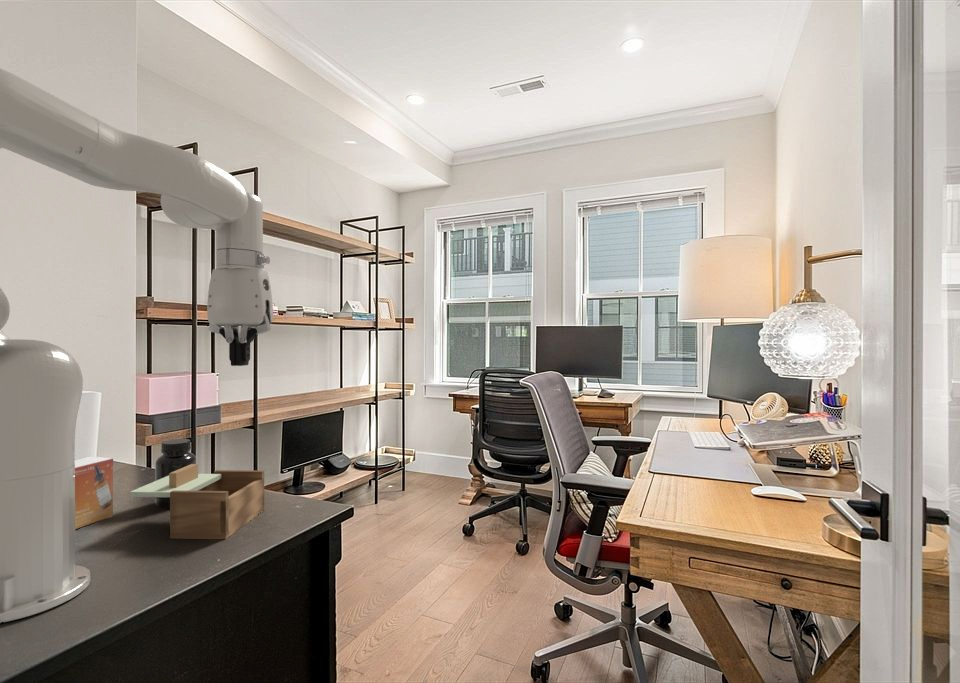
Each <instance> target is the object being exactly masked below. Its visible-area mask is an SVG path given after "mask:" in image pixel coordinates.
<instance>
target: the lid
mask: <svg viewBox="0 0 960 683" xmlns="http://www.w3.org/2000/svg"><path fill="white" fill-rule="evenodd" d="M221 478H222V474H214V473H199V464H198V463H196V464H190V465H188V466H186V467H183V468H181V469H178V470H176V471H174V472H171V473H169V476H166V477H164V478H162V479H159V480H157V481H155V480H154V481H152V482H150V483H148V484H145V485H143V486H139V487H137V488H136V489H133V490H131V491H129V498H155V497H170V492H171V491H198V490H200V489H202V488H204V487H206V486H208V485H210V484H211V483H213V482H215V481H217V480H219V479H221Z"/></svg>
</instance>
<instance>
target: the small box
mask: <svg viewBox="0 0 960 683" xmlns="http://www.w3.org/2000/svg"><path fill="white" fill-rule="evenodd" d="M113 516H114V458H113V457H99V456H87V457H86V456H85V457H82V458H79V459H75V530H77V529H79V528H82V527H85V526H88V525H90V524H94V523H97V522H99V521H103V520H106V519H109V518H112V517H113Z"/></svg>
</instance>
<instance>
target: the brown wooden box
mask: <svg viewBox="0 0 960 683" xmlns="http://www.w3.org/2000/svg"><path fill="white" fill-rule="evenodd" d="M213 474H222V478H221V479H219V480H217V481H215V482H213V483H211V484H210V485H208V486H206V487H204V488H202V489H200V490H198V491H171V492H170V508H169V518H170V519H169V525H170V526H169V538H170V539H180V540H181V539H185V540H186V539H187V540H189V539H190V540H191V539H192V540H195V539H196V540H227V539H228V538H229V537H230V536H232V535H233V534H235V533H236V532H237V531H239V530H240V529H241V528H243V527H244V526H245V525H246V524H248V523H249V522H251V521H253V519H254V517H255V516H256V517H257V516H259V515H260V514H261V513H263V512H264V511H265V470H256V469H255V470H254V469H253V470H251V469H250V470H249V469H246V470H244V469H243V470H239V469H238V470H236V469H232V470H231V469H229V470H228V469H227V470H225V469H216V470H214V471H213ZM263 510H264V511H263ZM262 511H263V512H262ZM260 512H261V513H260ZM259 513H260V514H259ZM258 514H259V515H258ZM256 517H255V518H256ZM250 520H251V521H250Z"/></svg>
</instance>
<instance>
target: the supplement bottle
mask: <svg viewBox="0 0 960 683" xmlns="http://www.w3.org/2000/svg"><path fill="white" fill-rule="evenodd" d="M191 444H192V443H191V439H189V438H177V439H168V440H165V441H162V442H161V448H160V449H161V450H160V453H161V454H162V455H160V456H159V457H158V458H157V459H156V460H155V463H154V465H155V466H154V467H155V468H154V475H155V476H154V478H155V480H154V481H157V480H159V479H162V478H164V477H166V476H169V473H171V472H174V471H176V470H178V469H181V468H183V467H186V466H188V465H190V464H197V457H196V455H195V454H194V453H192V452H190V451H191V450H192V445H191ZM154 500H155V505H156V507H158V508H161V509H170V497H154Z"/></svg>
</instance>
